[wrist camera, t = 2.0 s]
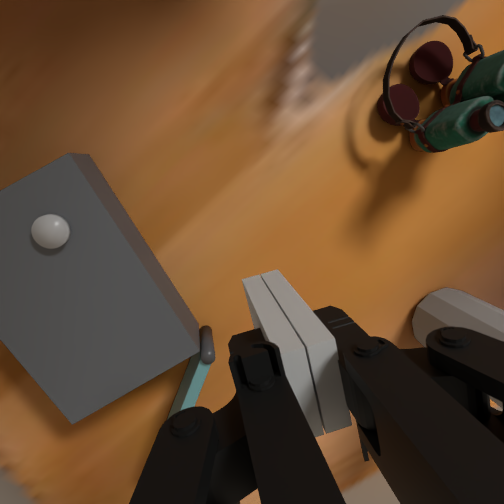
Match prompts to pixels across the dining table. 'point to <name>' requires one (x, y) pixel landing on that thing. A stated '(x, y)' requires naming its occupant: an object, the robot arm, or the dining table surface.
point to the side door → (195, 373)
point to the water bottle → (457, 316)
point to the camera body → (84, 290)
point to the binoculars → (447, 94)
